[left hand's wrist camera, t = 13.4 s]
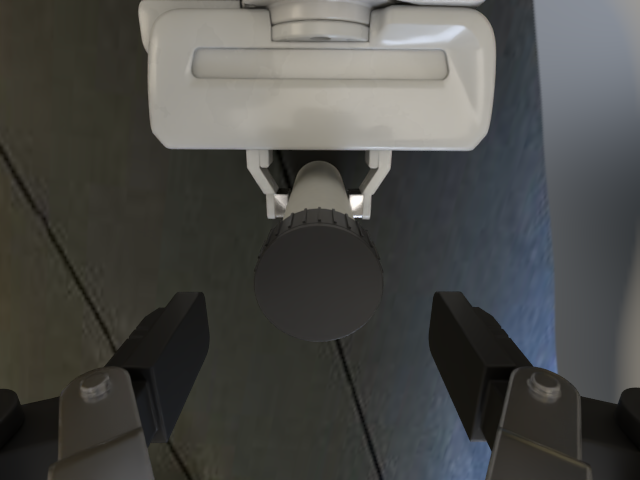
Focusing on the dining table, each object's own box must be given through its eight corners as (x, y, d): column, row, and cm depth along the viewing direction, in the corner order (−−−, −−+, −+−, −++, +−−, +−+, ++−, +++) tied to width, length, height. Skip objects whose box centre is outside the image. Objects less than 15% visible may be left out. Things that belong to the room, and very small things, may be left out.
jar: (352, 184, 31) (393, 280, 14) (319, 216, 32) (319, 344, 15) (318, 150, 30) (317, 210, 13) (285, 185, 31) (244, 283, 14)
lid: (399, 260, 16) (413, 286, 13) (320, 330, 17) (320, 364, 15) (317, 181, 15) (317, 195, 12) (238, 262, 16) (224, 289, 14)
